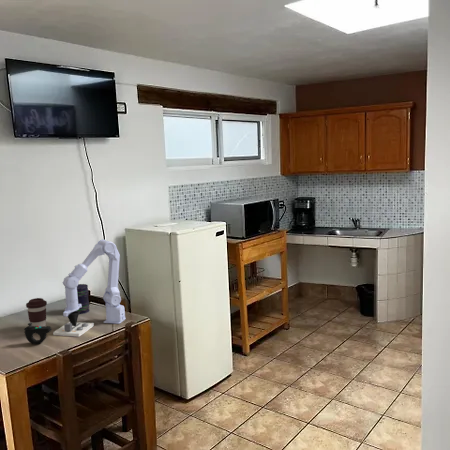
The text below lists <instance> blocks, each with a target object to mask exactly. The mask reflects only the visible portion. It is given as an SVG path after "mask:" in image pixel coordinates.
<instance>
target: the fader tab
mask: <svg viewBox="0 0 450 450" xmlns="http://www.w3.org/2000/svg"><path fill="white" fill-rule="evenodd" d="M63 326H64V328H65V331H72V323H68V322H66V323H64V324H63Z"/></svg>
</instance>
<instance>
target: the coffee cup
mask: <svg viewBox="0 0 450 450" xmlns="http://www.w3.org/2000/svg"><path fill="white" fill-rule="evenodd" d="M47 305H48V303H47V300H45V299H44V298H42V297H36V298H32V299H29V301H28V302H27V303H26V304H25V306H26V307H25V308H27V315H28V321H29V323H32V326H47Z"/></svg>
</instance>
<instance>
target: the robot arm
mask: <svg viewBox="0 0 450 450" xmlns="http://www.w3.org/2000/svg"><path fill="white" fill-rule="evenodd" d="M104 255H106V256H107V257H108V259H109V260H108V274H107V275H108V277H107V287H106V288H105V289H104V291H105V292H104V294H103V296H102V299H103V301H104V302H105V318H106V319H105V320H104V321H103V324H117V325H118V324H121V323H122V322H124V321H125V320H126V319H127V318H126V311H125V309H126V308H125V306H124V305H122V304H120V303H121V301H122V297H121V295H120V293H121V291H120V290H119V277H120V276H119V273H120V272H119V271H120V258H121V255H120V252H119V250H118V248H117V245H116V244H115V242H113V241H111V240H106V239H100V240H98V241H97V243H96V244H95V245H94V246H93V248H92V249H91V251H90V253H88V255H87V256H86V258H85V259H84V260H83V261H82V262H81V263H78V264H76V265H75V266H74V268H73V269H72V271H71V272H69V273H68V275H67V276H65V277H64V278H63V281H62V285H63V286H64V289H65V290H64V291H65V292H64V293H65V304H66V306H65V308H64V311H63V312H62V314H63V315H62V317H67V319H68V320H69V321H68V322H70V323H72V326H76V324H77V322H78V318H79V315H80V314H79V313H80V311H78V309H79V308H81V307H82V304H78V296H77V286H78V284H79V281H80V280H81V279H82V278H83V277H84V276H85V275H86V274H87V272H88V267H89V266H90V265H91V264H92V263H93V262H94V261H95V260H96V259H97V258H98V257H99V256H104Z"/></svg>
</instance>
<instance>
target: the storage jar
mask: <svg viewBox="0 0 450 450" xmlns="http://www.w3.org/2000/svg"><path fill="white" fill-rule="evenodd" d="M77 296H78V304H82V307H81V308H79V309H78V311H80V313H79V315H84V314H87V313H89V312H90V301H89V287H88V284H84V283H80V284H79V283H78V286H77Z"/></svg>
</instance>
